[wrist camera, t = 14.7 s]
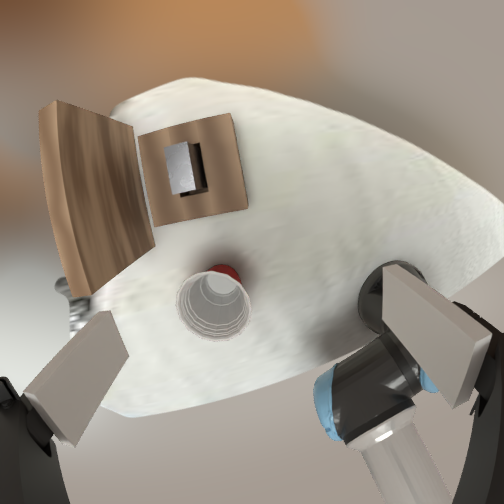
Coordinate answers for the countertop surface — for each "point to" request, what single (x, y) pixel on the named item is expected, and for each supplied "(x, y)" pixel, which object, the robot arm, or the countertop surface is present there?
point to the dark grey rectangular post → (185, 167)
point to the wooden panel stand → (125, 187)
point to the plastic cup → (214, 304)
